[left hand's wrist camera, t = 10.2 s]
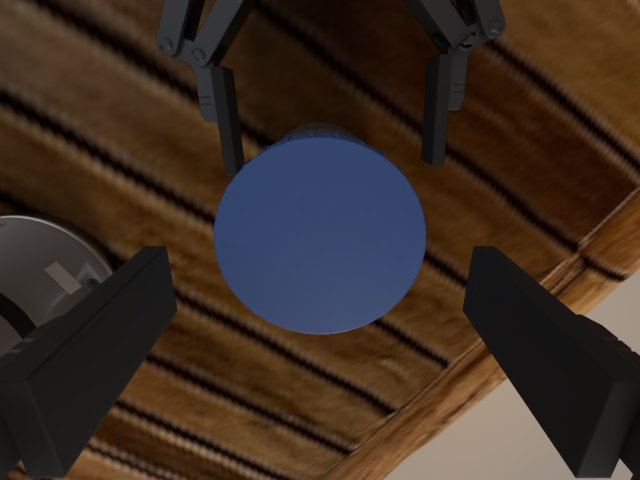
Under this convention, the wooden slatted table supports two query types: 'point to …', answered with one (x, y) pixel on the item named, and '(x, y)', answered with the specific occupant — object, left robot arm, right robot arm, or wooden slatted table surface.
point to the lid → (320, 234)
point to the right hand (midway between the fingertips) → (333, 167)
